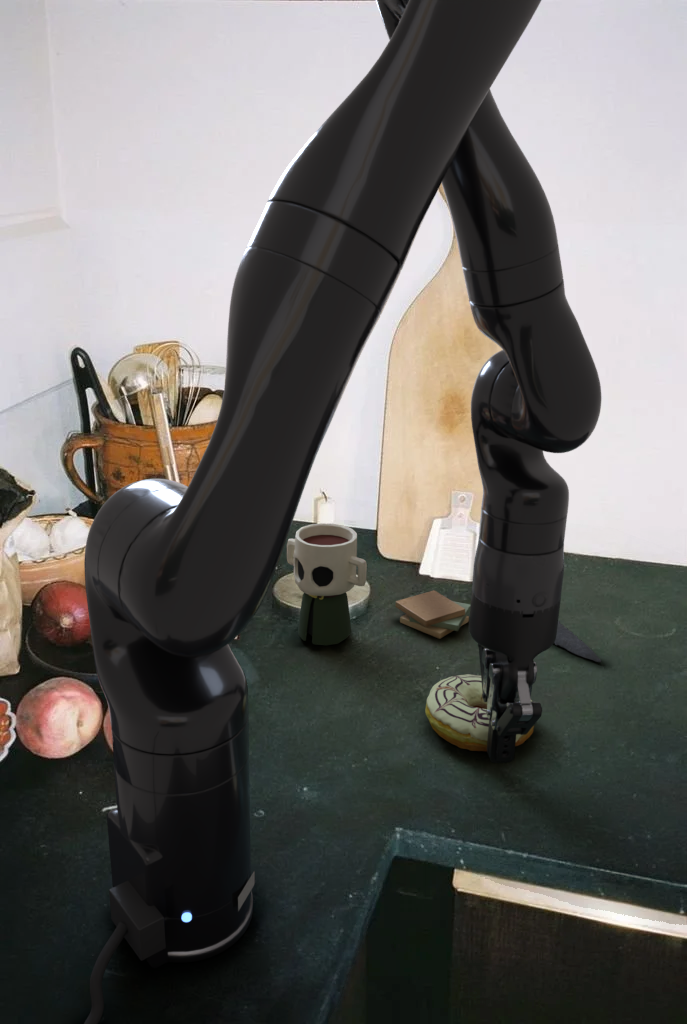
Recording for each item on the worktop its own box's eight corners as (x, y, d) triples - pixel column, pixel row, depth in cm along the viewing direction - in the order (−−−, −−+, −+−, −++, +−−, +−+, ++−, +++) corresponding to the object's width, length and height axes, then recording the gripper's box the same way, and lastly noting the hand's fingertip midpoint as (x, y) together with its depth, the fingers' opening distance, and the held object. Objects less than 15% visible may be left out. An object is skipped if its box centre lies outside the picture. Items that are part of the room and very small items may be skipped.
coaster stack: (442, 646, 108) (443, 627, 108) (386, 623, 113) (387, 605, 113) (483, 621, 114) (485, 603, 114) (429, 600, 119) (430, 583, 119)
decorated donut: (524, 770, 87) (528, 736, 85) (412, 745, 90) (414, 712, 89) (540, 711, 96) (544, 679, 95) (439, 691, 99) (441, 659, 98)
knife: (487, 594, 117) (521, 578, 118) (489, 608, 118) (522, 592, 119) (566, 670, 103) (604, 651, 105) (568, 684, 105) (605, 665, 106)
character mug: (269, 634, 110) (268, 532, 105) (305, 612, 115) (306, 514, 111) (345, 663, 104) (348, 556, 100) (379, 638, 110) (384, 535, 105)
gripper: (456, 557, 86) (445, 718, 92) (492, 625, 73) (476, 807, 80) (536, 555, 86) (519, 716, 93) (585, 623, 74) (562, 802, 80)
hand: (499, 757), depth 86 cm, fingers closed
